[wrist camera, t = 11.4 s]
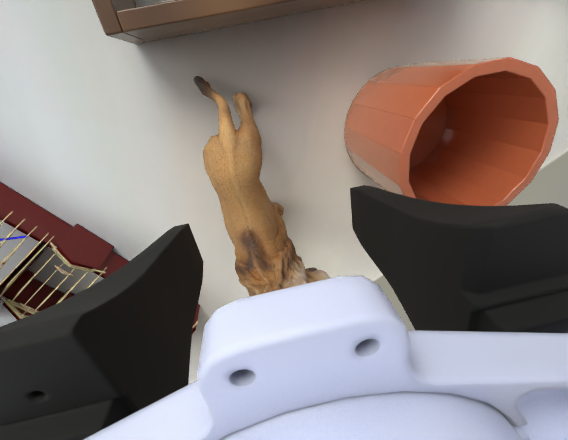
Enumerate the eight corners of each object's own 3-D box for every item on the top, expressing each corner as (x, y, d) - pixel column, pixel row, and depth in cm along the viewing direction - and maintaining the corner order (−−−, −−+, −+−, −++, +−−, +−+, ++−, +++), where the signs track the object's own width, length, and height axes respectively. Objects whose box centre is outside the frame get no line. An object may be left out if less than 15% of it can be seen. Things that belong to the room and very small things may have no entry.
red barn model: (204, 301, 25) (196, 353, 21) (118, 375, 28) (94, 435, 23) (-100, 110, 16) (-239, 125, 11) (-183, 248, 19) (-324, 306, 14)
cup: (453, 54, 19) (581, 42, 12) (442, 166, 22) (534, 208, 15) (340, 77, 18) (402, 78, 11) (347, 187, 22) (398, 239, 15)
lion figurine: (314, 241, 24) (351, 322, 16) (258, 265, 24) (267, 357, 16) (233, 58, 17) (228, 44, 9) (156, 96, 18) (87, 114, 10)
